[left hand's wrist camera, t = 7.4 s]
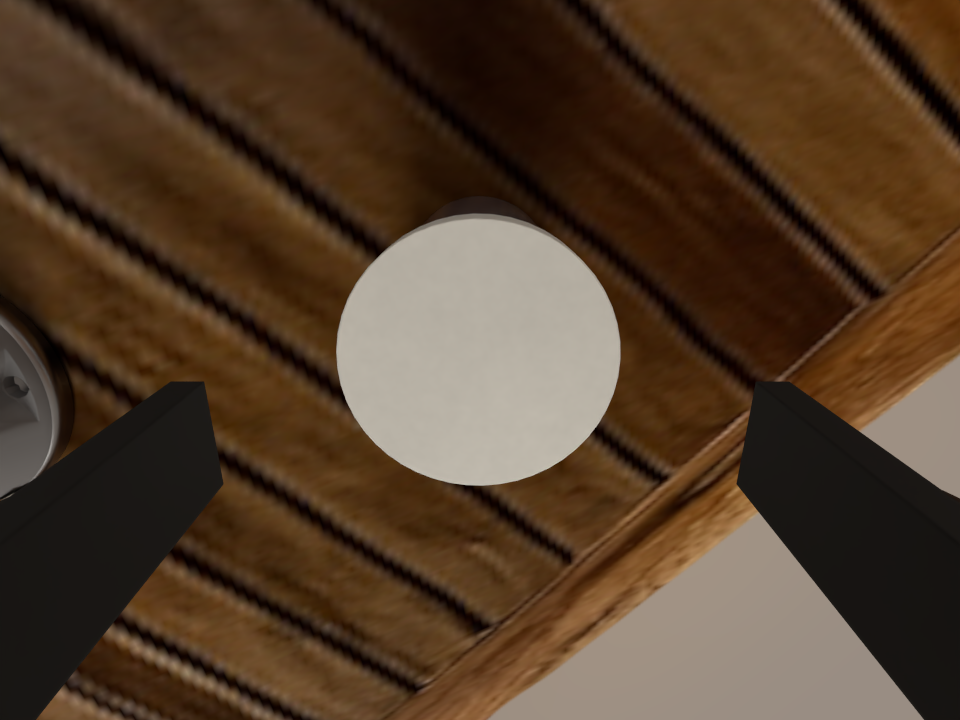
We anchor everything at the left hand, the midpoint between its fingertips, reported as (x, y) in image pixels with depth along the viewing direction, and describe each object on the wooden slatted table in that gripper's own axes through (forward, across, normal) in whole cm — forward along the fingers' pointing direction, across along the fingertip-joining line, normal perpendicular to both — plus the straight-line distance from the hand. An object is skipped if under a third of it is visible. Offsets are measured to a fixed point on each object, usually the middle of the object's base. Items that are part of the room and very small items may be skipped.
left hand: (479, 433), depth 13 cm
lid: (+5, 0, 0) cm, 5 cm away
